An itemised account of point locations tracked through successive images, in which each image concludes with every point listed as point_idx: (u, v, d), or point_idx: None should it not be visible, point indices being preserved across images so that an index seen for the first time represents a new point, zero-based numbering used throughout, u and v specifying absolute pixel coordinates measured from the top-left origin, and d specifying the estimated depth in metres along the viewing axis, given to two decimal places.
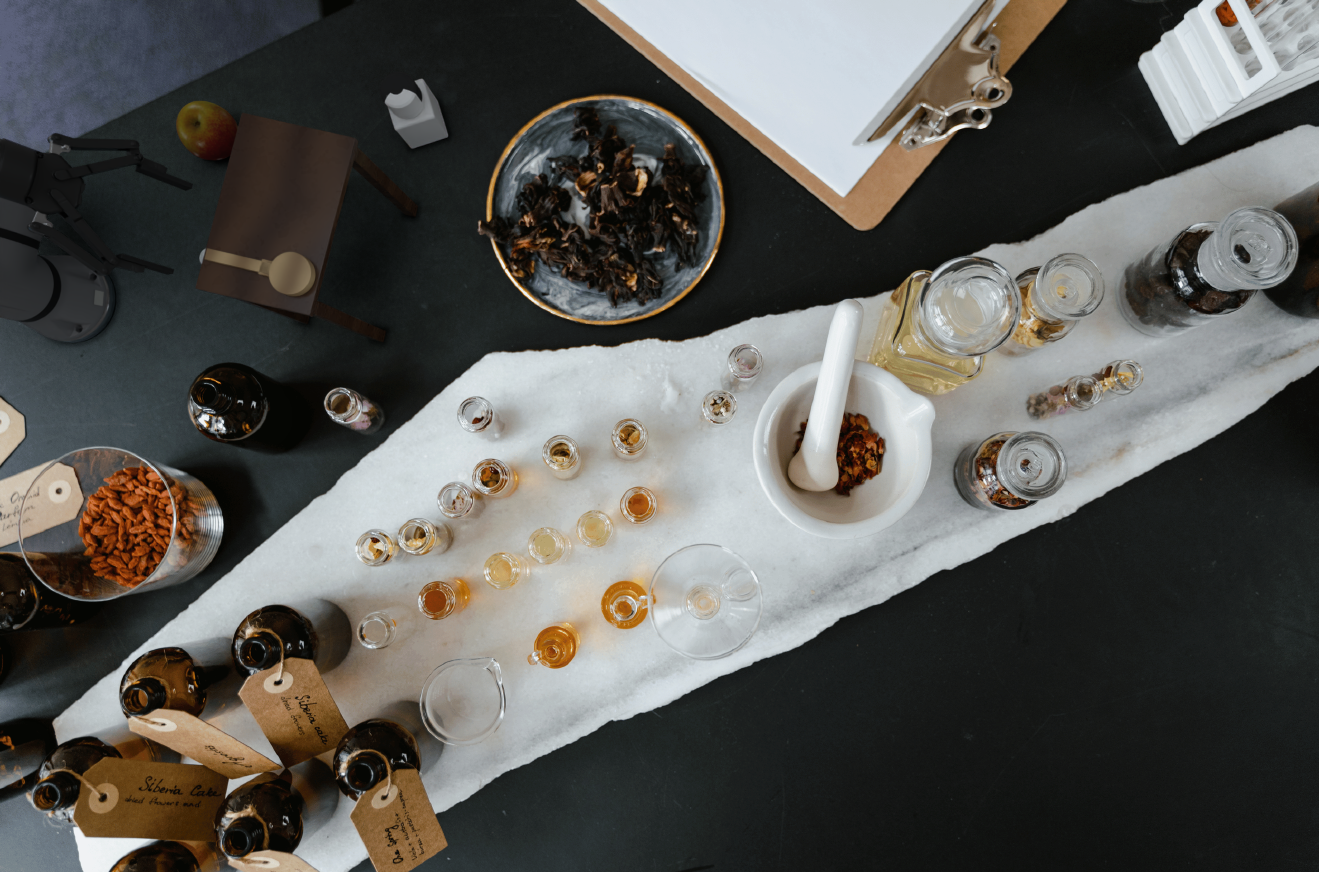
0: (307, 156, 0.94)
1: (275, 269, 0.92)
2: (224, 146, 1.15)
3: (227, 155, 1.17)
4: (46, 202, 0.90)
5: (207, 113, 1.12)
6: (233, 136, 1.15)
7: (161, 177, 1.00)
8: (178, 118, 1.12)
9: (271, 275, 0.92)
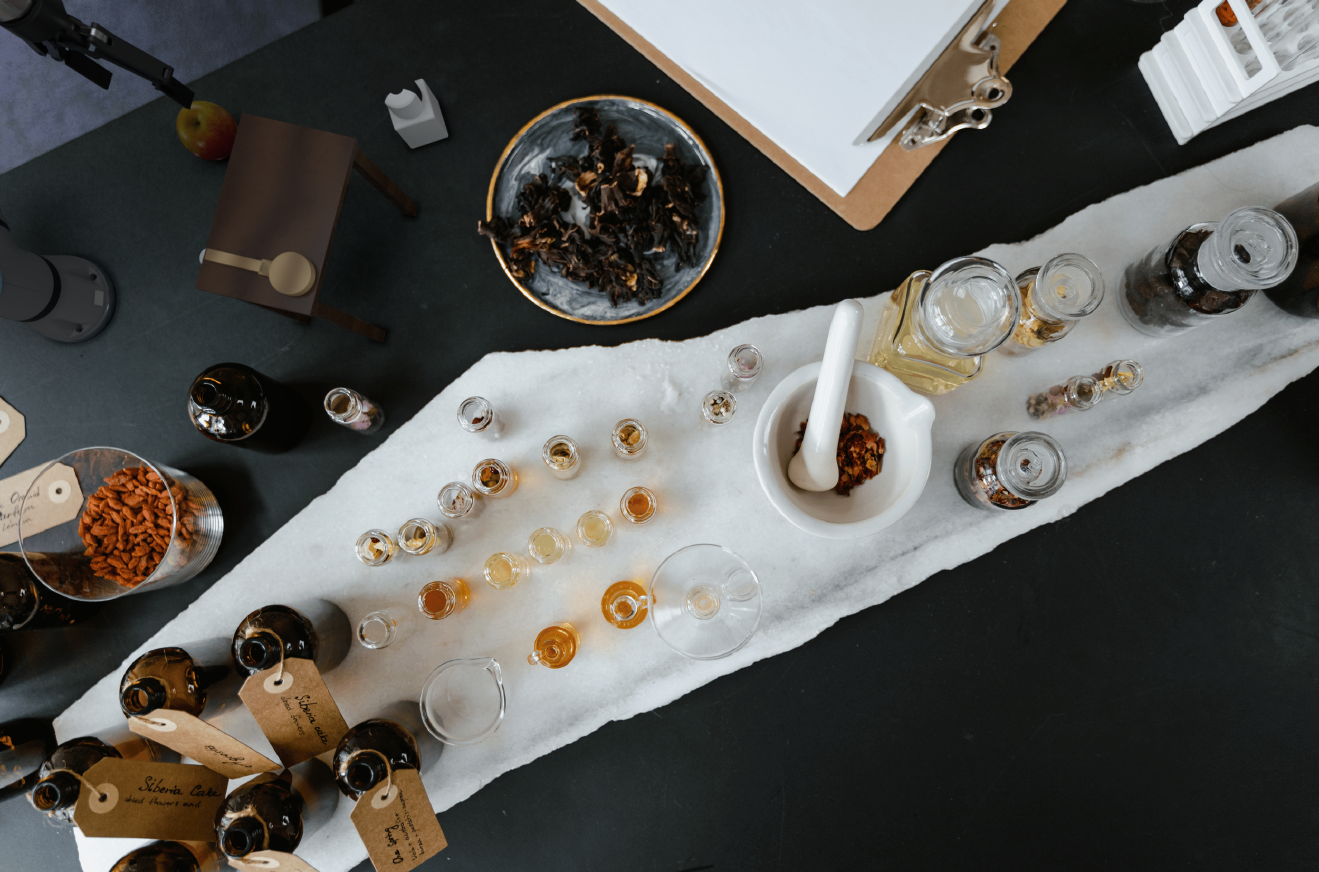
0: (307, 156, 0.94)
1: (275, 269, 0.92)
2: (224, 146, 1.15)
3: (227, 155, 1.17)
4: None
5: (207, 113, 1.12)
6: (233, 137, 1.15)
7: (89, 61, 0.99)
8: (178, 118, 1.12)
9: (271, 275, 0.92)
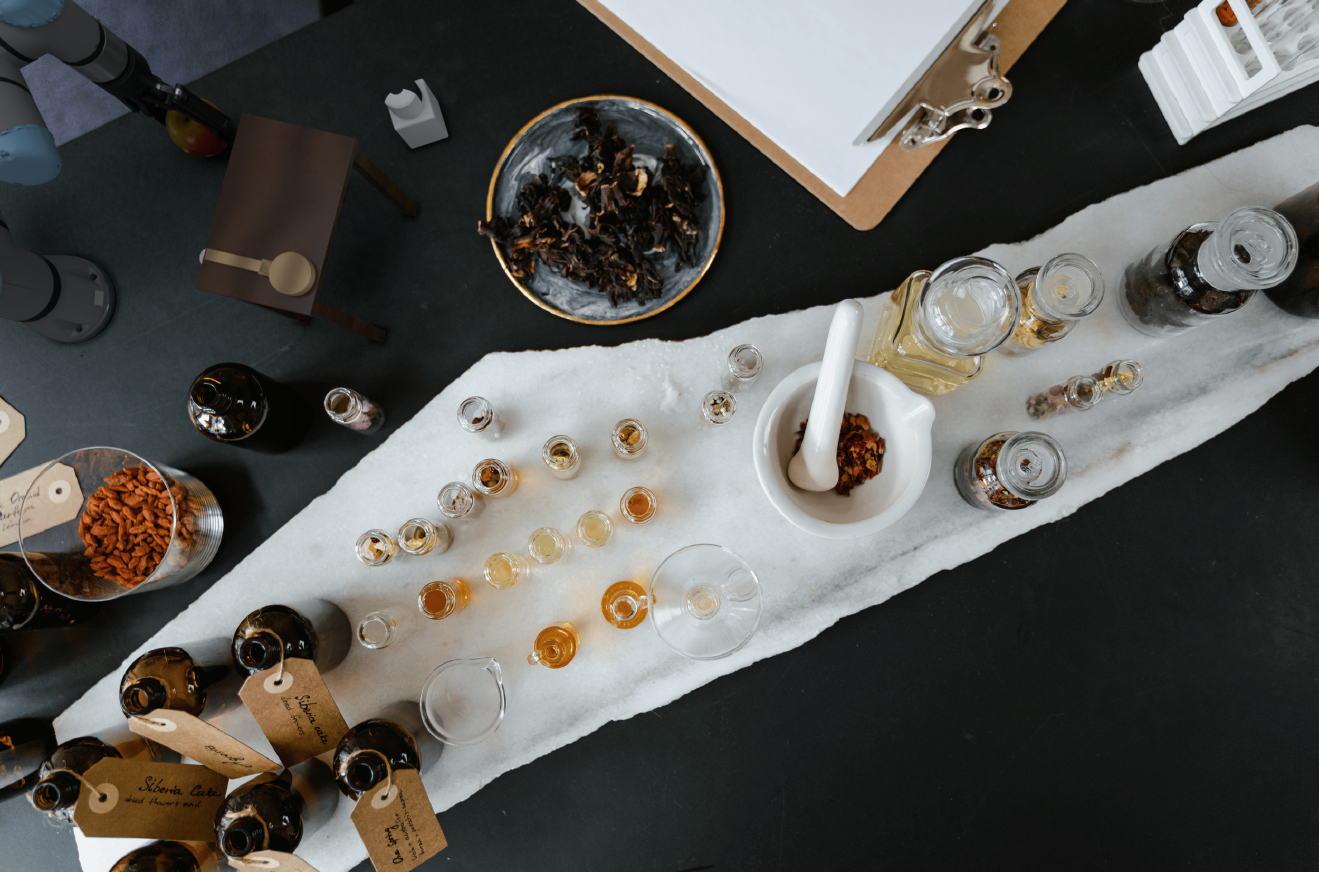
0: (307, 156, 0.94)
1: (275, 269, 0.92)
2: (214, 142, 1.13)
3: (217, 152, 1.15)
4: None
5: None
6: None
7: None
8: (168, 114, 1.10)
9: (271, 275, 0.92)
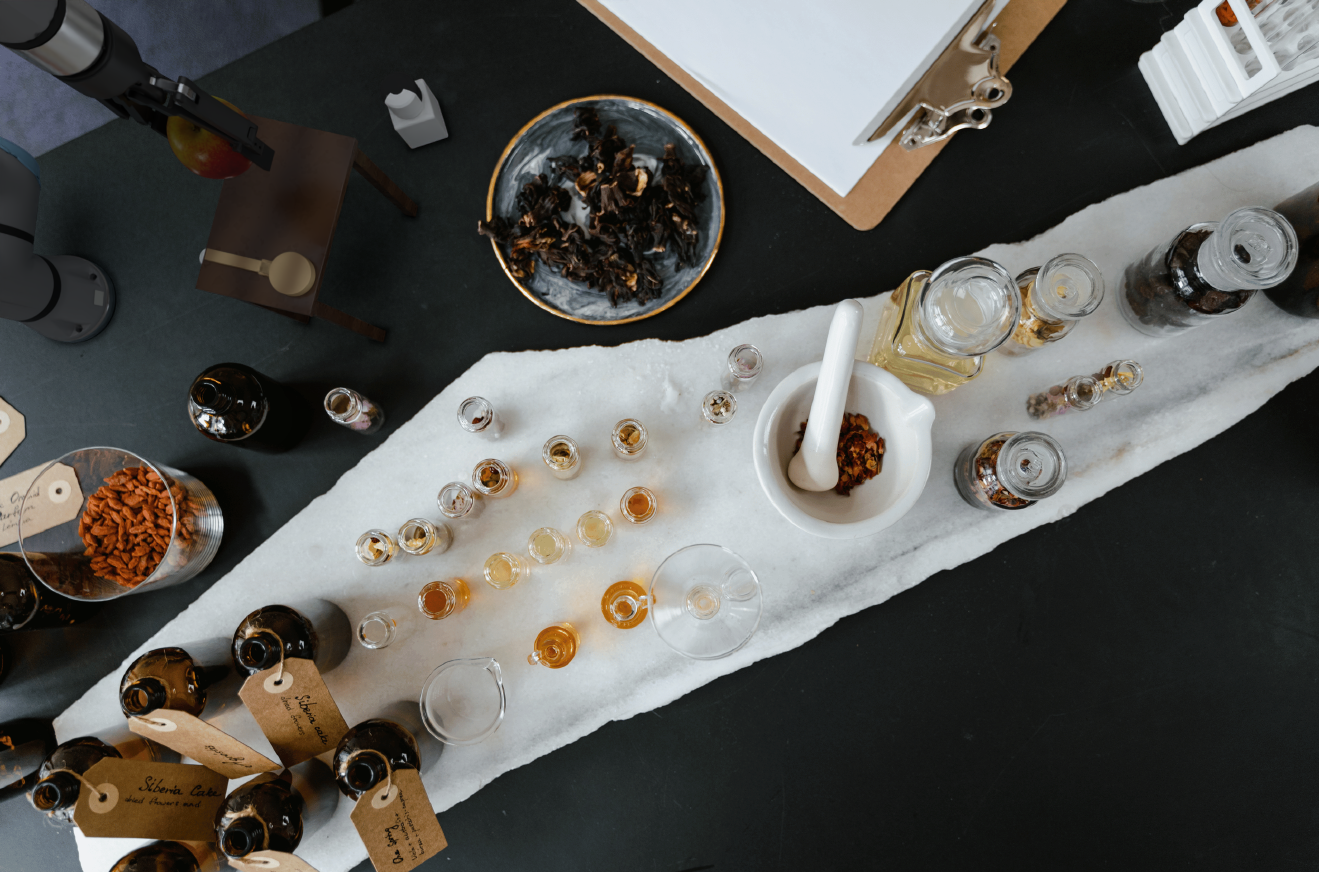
0: (307, 156, 0.94)
1: (275, 269, 0.92)
2: (235, 159, 0.80)
3: (240, 172, 0.82)
4: None
5: None
6: None
7: None
8: (169, 120, 0.77)
9: (271, 275, 0.92)
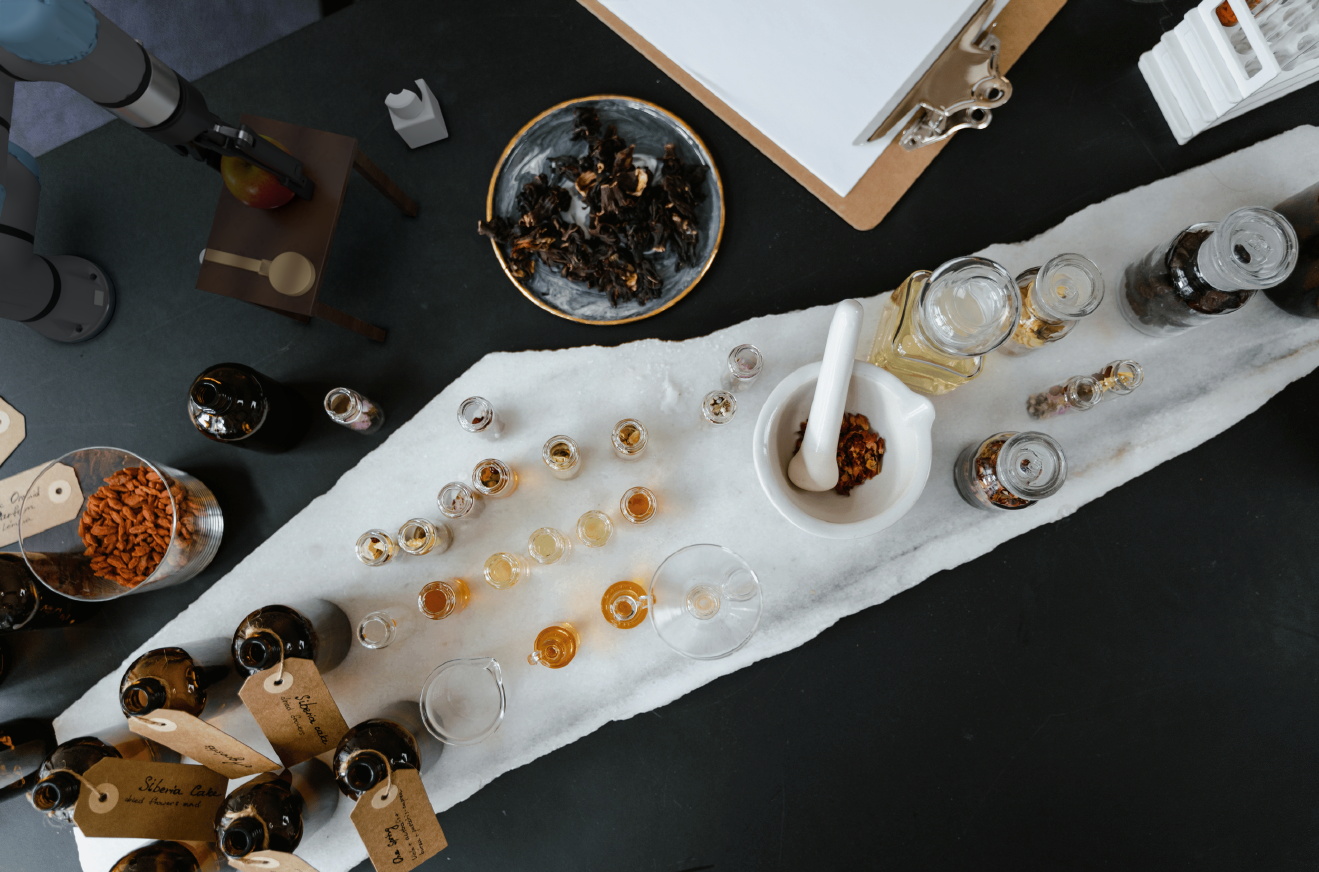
0: (307, 156, 0.94)
1: (275, 269, 0.92)
2: (281, 192, 0.89)
3: (284, 202, 0.91)
4: None
5: None
6: None
7: None
8: (224, 157, 0.86)
9: (271, 275, 0.92)
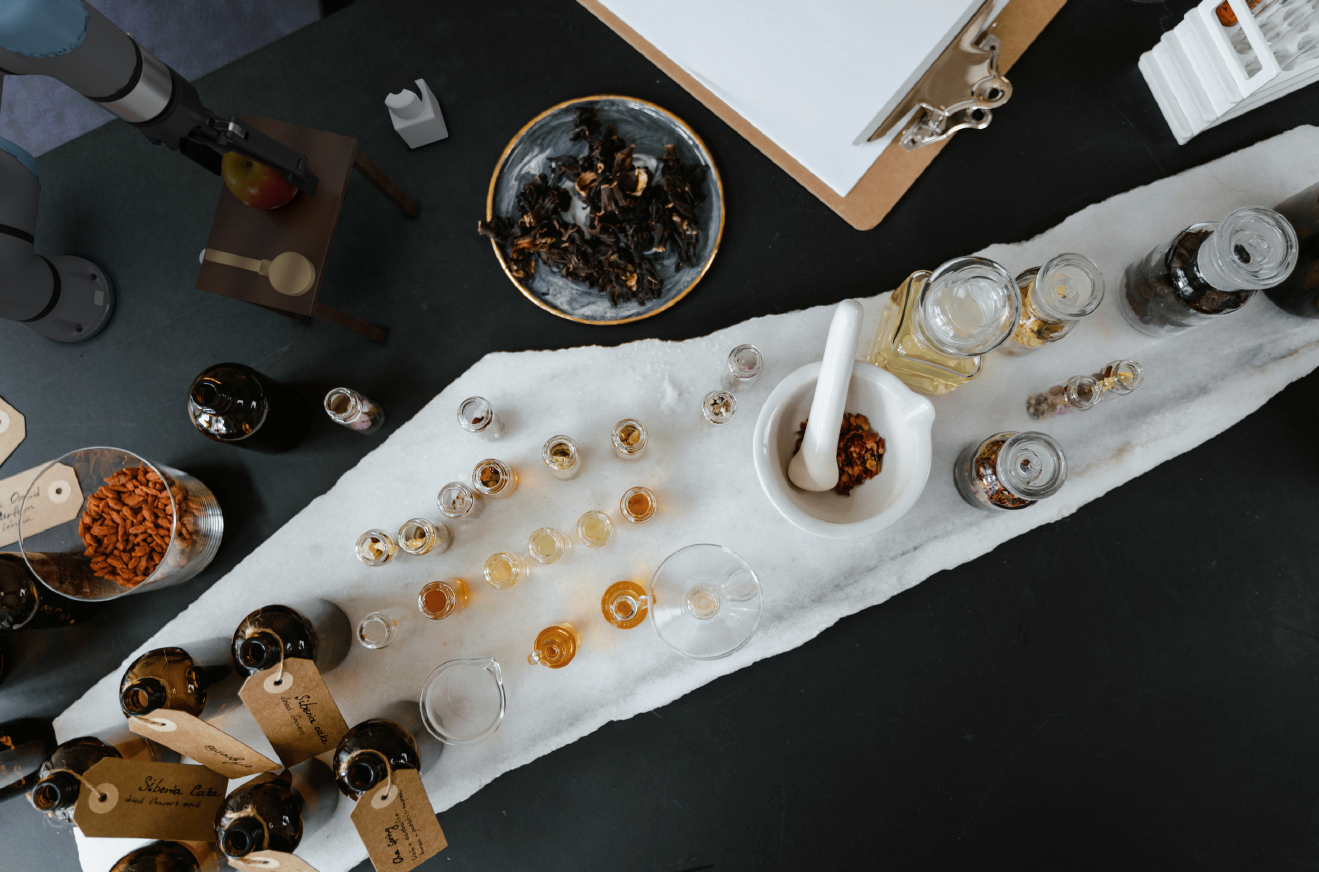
0: (307, 156, 0.94)
1: (275, 269, 0.92)
2: (281, 192, 0.89)
3: (284, 203, 0.91)
4: None
5: None
6: None
7: (204, 147, 0.88)
8: (224, 158, 0.86)
9: (271, 275, 0.92)
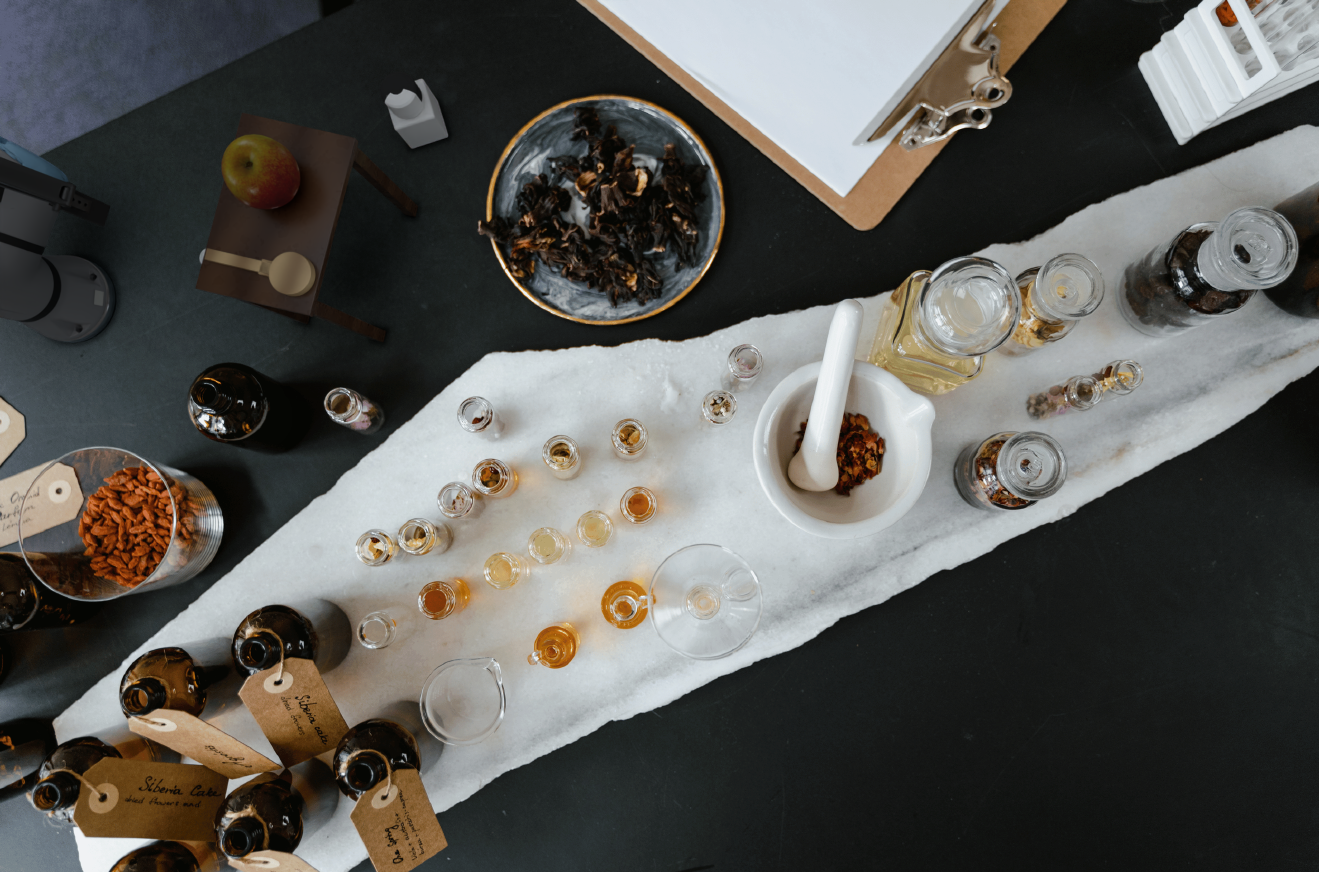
0: (307, 156, 0.94)
1: (275, 269, 0.92)
2: (281, 192, 0.89)
3: (284, 203, 0.91)
4: None
5: (262, 152, 0.86)
6: (293, 180, 0.90)
7: None
8: (224, 158, 0.86)
9: (271, 275, 0.92)
